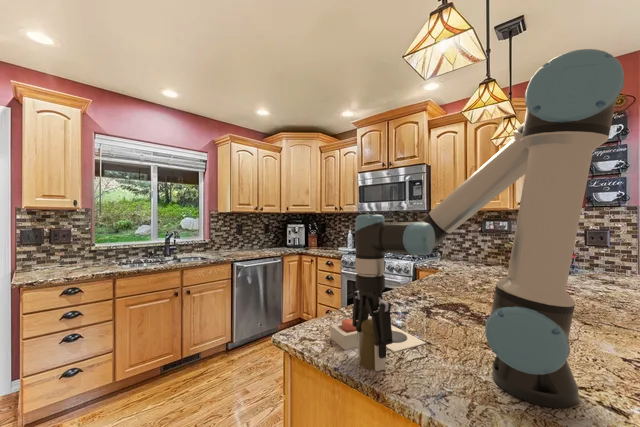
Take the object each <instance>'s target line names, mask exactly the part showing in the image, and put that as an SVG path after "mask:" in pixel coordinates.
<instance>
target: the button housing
mask: <svg viewBox="0 0 640 427" xmlns="http://www.w3.org/2000/svg"><path fill="white" fill-rule="evenodd" d="M329 330H330V334H329V335H330V339H331V340H332V341H333V342H334V343H336V344H337V345H338V346H339V347H341V348H342V349H343V350H344V351H347V350H351V349H355V348H358V335H357V331H354V332H349V333H346V332H344V331H343V330H342V322H341V323H337V324H330V326H329Z"/></svg>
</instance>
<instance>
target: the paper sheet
mask: <svg viewBox="0 0 640 427" xmlns="http://www.w3.org/2000/svg"><path fill="white" fill-rule="evenodd" d="M391 329H392V340H393V343H392V344H389V345H386V349H388V350H389V351H391V352H393V353H399V352H401V351H404V350H408V349H412V348H416V347H419V346H423V345H426V344H427V342H425V341H423V340H421V339H419V338H417V337H415V336H414V335H412V334H410V333H408V332H406V331H404V330H403V329H400V328H398V327H396V326H394V325H392V324H391Z"/></svg>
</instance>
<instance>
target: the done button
mask: <svg viewBox="0 0 640 427" xmlns="http://www.w3.org/2000/svg"><path fill="white" fill-rule="evenodd" d="M352 322H353V318H345V319H343V320H341V323H342V330H343V331H344V332H346V333H349V332H354V331H357V330H356V327H353V324H352Z"/></svg>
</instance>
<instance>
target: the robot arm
mask: <svg viewBox="0 0 640 427" xmlns="http://www.w3.org/2000/svg"><path fill="white" fill-rule="evenodd" d="M624 85H625V73H624V68H623V65H622V63H621V62H620V60H619V59H618V58H617V57H615V56H614V55H612V54H610V53H609V52H607V51H604V50H600V49H596V48H595V49H594V48H584V49H575V50H572V51H568V52H565V53H561V54H560V55H557V56H555V57H553V58H551V59H550V60H549V61H547V62H546V63H544V64H543V65H541V67H539V68H538V69H537V71H535V73H534V74H533V76H532V77H531V78H530V80H529V82H528V84H527V88H526V90H525V92H524V101H525V102H524V103H525V106H526V110H525V116H524V121H523V123H522V124H521V125H520V126H519V127H518V128H516V129H515V130H514V131H513V137H512V139H511V140H510V141H509V142H507V143H506V144H505V145H504V146H503V147H502V148H501V149H499V150H498V151H497V152H496V153H495V154H494V155H493V156H492V157H490V158H489V159H488V160H487V161H486V162H485V163H484V164H482V166H481V167H479V168H478V169H477V170H476V171H475V172H473V174H470V176H469V177H468V178H466V180H464V182H462V183H461V184H460V185H459V186H457V187H456V188H455V189H454V190H453V191H452V192H451V193H449V195H447V197H446V196H445V198H444V199H443V200H442V201H440V202H439V203H438V204H437V205H436V206H435V207H434V208H432V210H431V211H430V212H429V213H426V215H424V217H422V218H421V219H420V220H419V221H408V222H407V221H405V222H403V221H401V222H389V221H385V217H384V215H383V214H358V215H357V216H356V218H355V226H354V238H355V241H354V242H355V264H354V265H355V272H356V274H355V288H356V289H357V290H356V291H353V292H352V297H353V300H352V301H353V304H352V319H353V322H352V324H353V327H356V330H357V335H358V347H357V357H358V358H359V359H360V358H361V350H362V341H363V332H362V329H361V324H362V322H363V321H364V320H367V319H369V316H370V317H371V319H372V321H373V326H374V331H375V336H376V341H377V343H374V344H375V370H374V371H375V372H380V371H383V370H386V368H387V366H386V360H387V359H386V358H387V348H386V345H389V344H392V343H393V340H392V329H391V325H392V318H391V308H392V304H391V302H390V301H385V300H384V298H383V295H382V294H383V293H382V292H383V291H384V290H385V289H386V276H385V274H384V273H385V271H386V270H385V265H386V264H385V253H395V254H406V255H412V256H428V255H430V254H431V253H432V252H433V250H434V249H435V248H436V247H438V246H439V245H441V244H442V243H443V241H444V240H445V238H447V237H448V236H449V235H450V234H451V233H452V232H454V231H455V230H457V229H458V228H459V227H460V226H461V225H463V224H464V223H466V221H467V220H469V219H470V218H472V217H473V216H474V215H475V214H476V213H478V212H479V211H480V210H482V209H483V208H484V207H485V206H486V205H488V204H489V203H490V202H492V201H494V199H495V198H497V197H498V196H499V195H500V194H502V193H503V192H504V191H505V190H507V189H508V188H510V186H512V185H513V184H514V183H516V182H517V181H519V180H520V178H522V177H523V176H524V180H523V184H522V189H521V196H520V202H519V207H518V208H519V209H518V213H517V219H516V224H515V230H514V235H513V242H512V248H511V251H510V252H511V253H510V258H509V265H508V269H507V275H506V276H505V277H503V278H502V279H500V280H498V281H496V284H495V289H494V294H493V295H494V296H493V300H492V306H491V311H490V314H489V316H488V317H487V319H486V321H485V324H484V330H485V337H486V338H485V339H486V341H487V344H488V346H489V348H490V349H491V350H492V352H493V353H494V354H495V358H494V361H493V363H492V367H491V368H492V379H493V381H494V382H495V384H496V385H497V386H498V387H500V388H501V389H502V390H504V391H505V392H506V393H508V394H510V395H512V396H513V397H516V398H518V399H521V400H523V401H524V402H529V403H531V404H535V405H538V406H543V407H547V408H555V409H557V408H558V409H562V408H563V409H565V408H566V409H567V408H570V407H574V406H575V405H577V404H578V403H579V399H580V398H579V388H578V385H577V384H578V383H576V382H577V381H576V379H575V376H574V374H573V372H572V369H571V366H570V365H569V362H568V358H569V356H570V353H571V347H570V341H569V337H570V331H571V326H572V322H573V316H574V313H575V306H576V301H575V300H574V299H573V297H572V296H571V295H570V294H569V293H568V291H567V284H568V280H569V276H570V270H571V264H572V260H573V256H574V255H573V254H574V250H575V244H576V240H577V239H576V238H577V234H578V230H579V229H578V228H579V224H580V218H581V214H582V209H583V203H584V198H585V193H586V188H587V183H588V178H589V175H590V174H589V173H590V167H591V164H592V157H593V153H594V151H595V150H596V149H597V148H599V147H601V146H602V145H603V144H605V143H607V142H608V140H609V139H610V138H609V137H610V132H611V127H612V122H613V117H614V112H615V108H616V104H617V99H618V97H619V96H620V94H621V93H622V92H623V89H624Z"/></svg>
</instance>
